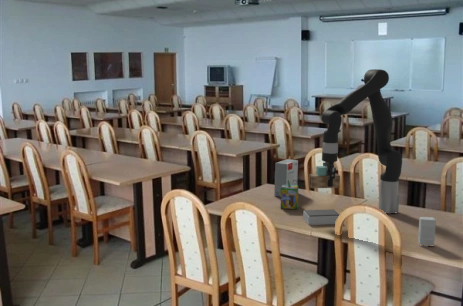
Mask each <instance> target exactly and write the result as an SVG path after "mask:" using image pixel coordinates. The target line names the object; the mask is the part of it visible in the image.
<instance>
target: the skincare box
mask: <svg viewBox="0 0 463 306" xmlns="http://www.w3.org/2000/svg"><path fill="white" fill-rule="evenodd" d="M418 218H419V221H418V235H417V236H418V238H417V243H418V242H419V244H421V245H434V246H435V240H436V238H435V237H436V224H437V223H436V222H437V220H436V219H435V217H433V216H430V217H429V216H419V217H418ZM419 244H418V245H419Z"/></svg>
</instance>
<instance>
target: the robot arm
mask: <svg viewBox="0 0 463 306" xmlns="http://www.w3.org/2000/svg"><path fill="white" fill-rule="evenodd" d="M389 79H390V77H389V72H387V71H386V70H384V69H380V68H379V69H376V68H375V69H373V68H372V69H368V70H367V71H365V74H364V76H363V83H364V85H361V87H359V88H356V89H355V90H353V91H352V92H350V93H347V94H346V95H345V96H343V98H342V99H341V100H340V101H338V102H337V103H335V104H333V105H331V106H330V107H328V108H326V109H325V110H324V111H323V112H322V114H321V119H320V120H321V122H322V123H323V124H325V125H328V128H327V129H326V130H324V131H323V136H322V137H323V138H322V149H321V161H322V166H325V167H326V168H327V170H326V174H327V175H328V187H332V186H333V179H335V174H337V173H336V172H337V171H336V170H337V168H336V167H335V164H334V163H336V162H337V161H338V157H339V156H338V155H339V153H338V152H339V144H338V142H339V134H340V133H339V132H340V129H341V126H342V122H343V120H342V119H343V117H342V116H344V115H347V114H349V113H350V112H351V111H352V110H353V109H355V108H356V107H357V106H358V105H359V104H361V103H362V102H363V101H364V100H366V99H367V98H368V101H369V107H370V110H371V117H372V121H373V127H374V132H375V138H376V144H377V145H376V146H377V147H376V148H377V156H378V161H379V163H380V165H382V166H384V167H385V171H384V172H383V173H380V177H379V194H378V195H379V196H378V208H379V209H381V210H383V211H384V212H386V213H395V212H398V213H399V209H400V208H399V207H400V206H399V205H400V195H399V181H400V178H401V174H402V166H403V155H402V153H401V152H400V151H398V150H396V149H393V148H392V144H391V138H390V137H391V133H392V129H393V125H394V124H393V116H392V112H391V110H390V107H389V106H388V104H387V102H386V101H385V99H384V98H383V96H382V92H381V90H382V89H383V88H384V87H386V86H387V84H388V83H389V81H390V80H389ZM331 175H332V176H331Z"/></svg>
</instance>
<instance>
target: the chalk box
mask: <svg viewBox="0 0 463 306" xmlns="http://www.w3.org/2000/svg"><path fill="white" fill-rule="evenodd" d="M298 207H299V185H298V184H297V185H290V183H289V180H288V185H282V187H281V197H280V209H281V210H284V209H285V210H288V209H289V210H298Z"/></svg>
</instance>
